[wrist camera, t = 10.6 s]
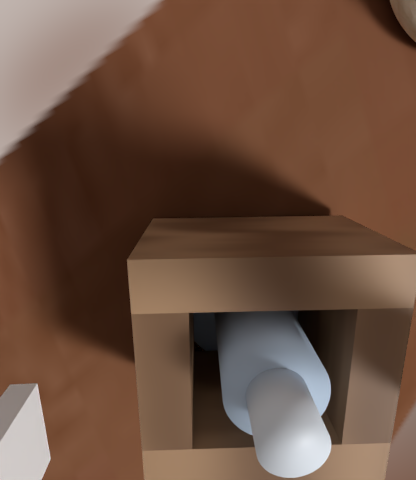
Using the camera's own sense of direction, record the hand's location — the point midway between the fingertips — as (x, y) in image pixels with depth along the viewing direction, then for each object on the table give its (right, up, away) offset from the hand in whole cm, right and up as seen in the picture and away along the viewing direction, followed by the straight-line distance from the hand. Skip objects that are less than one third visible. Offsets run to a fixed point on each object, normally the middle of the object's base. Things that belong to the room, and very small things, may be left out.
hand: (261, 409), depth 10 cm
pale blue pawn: (0, +2, +7) cm, 8 cm away
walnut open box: (0, +2, +7) cm, 7 cm away
